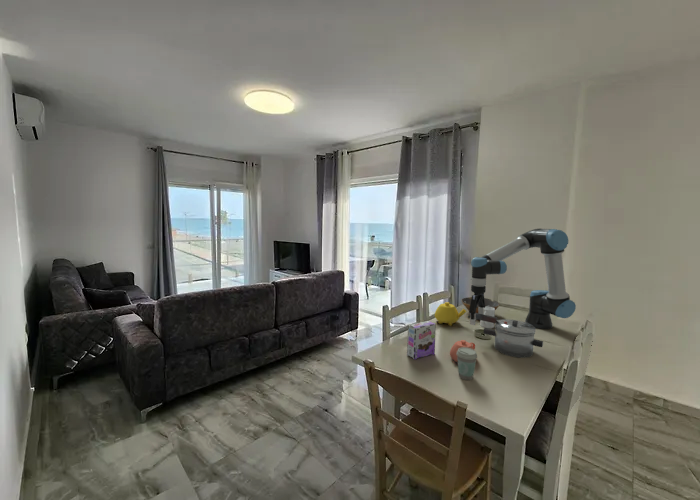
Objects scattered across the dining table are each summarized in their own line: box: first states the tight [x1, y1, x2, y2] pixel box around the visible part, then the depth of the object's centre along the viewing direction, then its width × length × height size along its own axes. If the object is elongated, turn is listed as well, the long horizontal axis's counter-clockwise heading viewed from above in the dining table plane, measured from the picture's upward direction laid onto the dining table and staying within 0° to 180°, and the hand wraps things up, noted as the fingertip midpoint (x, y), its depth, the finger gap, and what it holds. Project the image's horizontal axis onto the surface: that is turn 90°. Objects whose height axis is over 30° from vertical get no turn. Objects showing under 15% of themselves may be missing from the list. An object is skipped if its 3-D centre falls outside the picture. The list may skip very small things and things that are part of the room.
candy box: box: [406, 320, 437, 360], centre depth 154 cm, size 14×6×16 cm, turn 117°
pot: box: [483, 325, 544, 358], centre depth 161 cm, size 28×19×12 cm, turn 49°
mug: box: [479, 306, 496, 329], centre depth 195 cm, size 12×8×12 cm
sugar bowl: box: [449, 339, 476, 363], centre depth 149 cm, size 12×14×10 cm
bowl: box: [460, 296, 500, 313], centre depth 218 cm, size 25×25×10 cm
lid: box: [475, 313, 537, 334], centre depth 164 cm, size 32×19×4 cm, turn 49°
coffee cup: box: [456, 347, 478, 381], centre depth 133 cm, size 8×9×12 cm
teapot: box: [434, 301, 467, 327], centre depth 201 cm, size 20×16×14 cm
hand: (476, 321), depth 173 cm, fingers open, 13 cm apart
